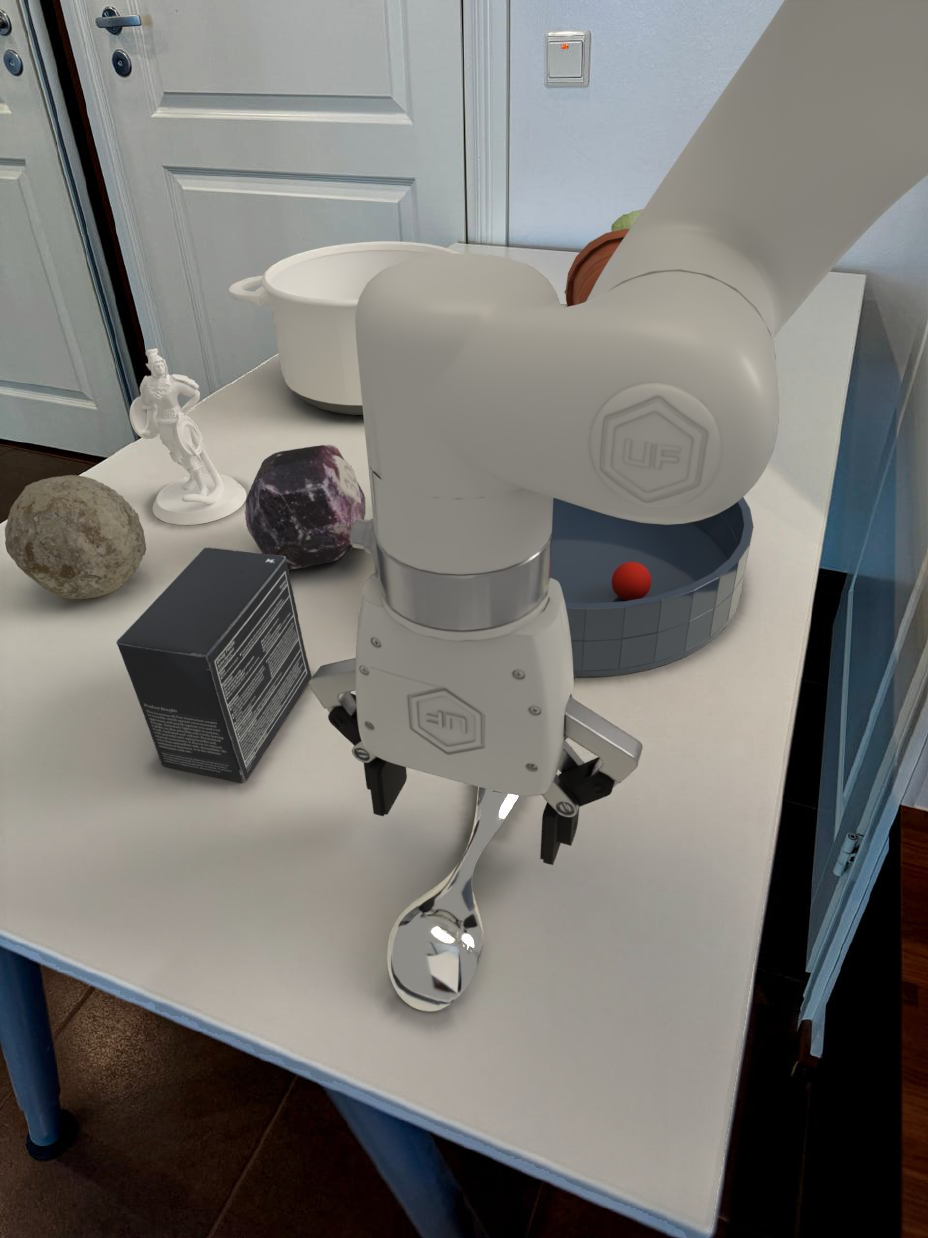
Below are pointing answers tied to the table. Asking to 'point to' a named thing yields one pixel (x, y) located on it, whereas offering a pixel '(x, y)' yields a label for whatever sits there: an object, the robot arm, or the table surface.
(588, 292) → the potted plant
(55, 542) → the decorative stone
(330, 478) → the mineral specimen
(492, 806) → the metal spoon
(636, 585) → the tomato
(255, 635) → the small box
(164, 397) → the figurine
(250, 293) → the pot
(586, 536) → the bowl
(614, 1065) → the table surface
